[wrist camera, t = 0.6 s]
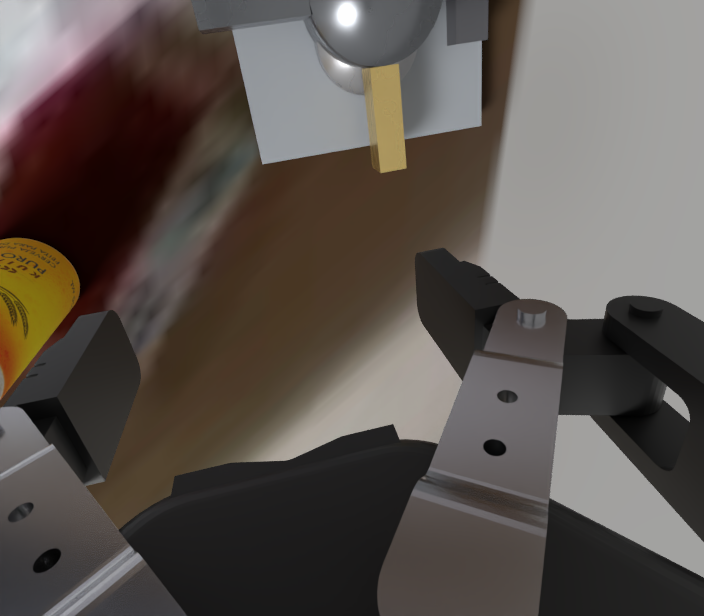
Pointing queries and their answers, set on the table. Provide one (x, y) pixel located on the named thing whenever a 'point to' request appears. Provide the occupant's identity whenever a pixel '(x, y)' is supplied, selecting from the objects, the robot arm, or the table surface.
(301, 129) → the stand
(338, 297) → the table surface
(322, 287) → the table surface
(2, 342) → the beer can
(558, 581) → the robot arm
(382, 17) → the valve handle
